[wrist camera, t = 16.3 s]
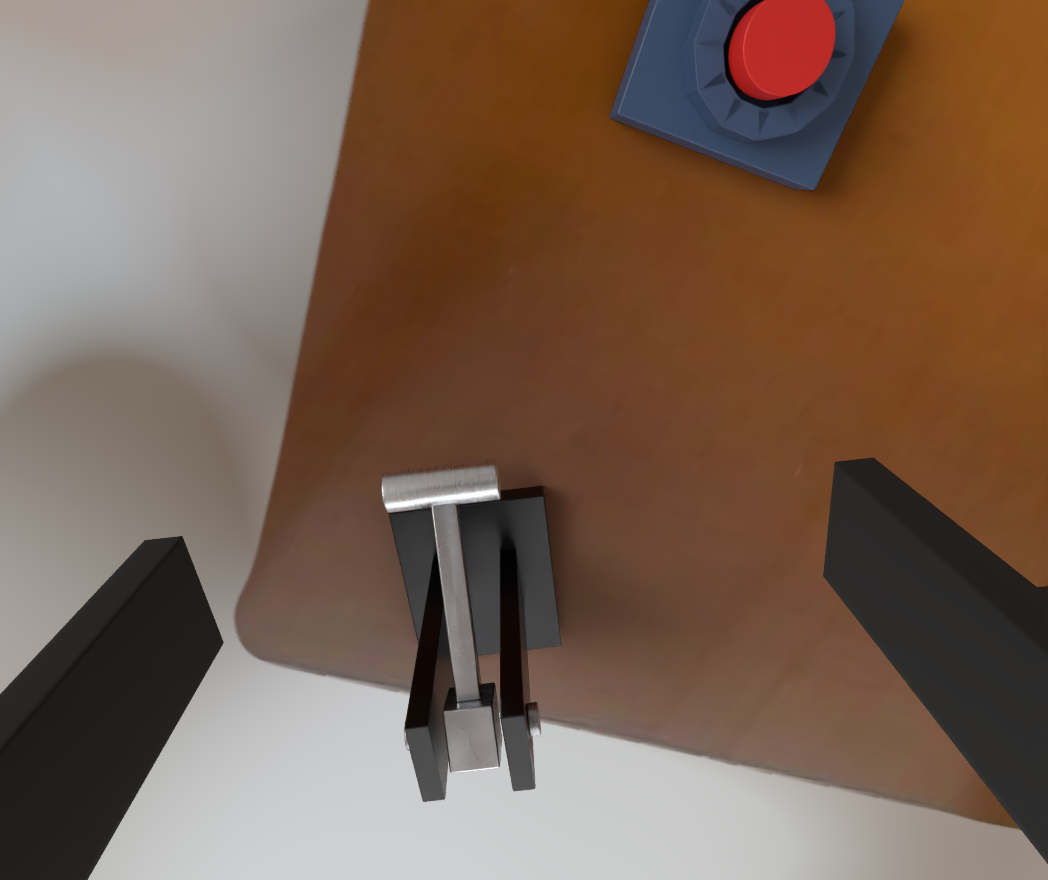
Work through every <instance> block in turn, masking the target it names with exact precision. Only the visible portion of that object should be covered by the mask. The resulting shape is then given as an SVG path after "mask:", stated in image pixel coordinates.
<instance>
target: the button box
mask: <svg viewBox="0 0 1048 880" xmlns="http://www.w3.org/2000/svg"><path fill="white" fill-rule="evenodd" d="M762 1H764V0H649V3H648V6H647V9H646V12H645V15H644V18H643V21H642V23H641V26H640V29H639V32H638V35H637V38H636V41H635V44H634V47H633V50H632V52H631V55H630V58H629V61H628V64H627V67H626V70H625V73H624V76H623V79H622V82H621V84H620V87H619V90H618V93H617V96H616V99H615V102H614V105H613V108H612V111H611V114H610V118H611V119H613V120H616V121H618V122H621V123H624V124H626V125H629V126H631V127H634V128H636V129H639V130H642V131H644V132H647V133H649V134H652V135H655V136H657V137H660V138H662V139H665V140H668V141H670V142H673V143H675V144H678V145H680V146H683V147H686V148H688V149H691V150H693V151H696V152H699V153H701V154H704V155H706V156H709V157H712V158H714V159H717V160H719V161H722V162H725V163H727V164H730V165H732V166H735V167H737V168H740V169H743V170H745V171H748V172H750V173H753V174H756V175H758V176H761V177H763V178H766V179H769V180H771V181H774V182H776V183H779V184H781V185H784V186H787V187H789V188H792V189H798V190H815V188H816V186H817V184H818V182H819V180H820V178H821V176H822V174H823V172H824V169H825V167H826V165H827V163H828V161H829V159H830V157H831V155H832V153H833V150H834V148H835V146H836V144H837V142H838V140H839V138H840V136H841V133H842V131H843V129H844V127H845V125H846V123H847V121H848V119H849V117H850V114H851V112H852V110H853V108H854V106H855V104H856V102H857V100H858V98H859V95H860V93H861V91H862V89H863V87H864V85H865V83H866V81H867V79H868V76H869V74H870V72H871V70H872V68H873V66H874V64H875V62H876V59H877V57H878V55H879V53H880V51H881V49H882V47H883V45H884V43H885V40H886V38H887V36H888V34H889V32H890V30H891V28H892V26H893V24H894V21H895V19H896V17H897V15H898V13H899V11H900V9H901V7H902V5H903V2H904V0H824V1H825V2H826V3H827V5H828V6H829V8H830V10H831V12H832V15H833V18H834V22H835V31H836V35H835V45H834V49H833V53H832V56H831V58H830V61H829V63H828V65H827V67H826V68H825V70H824V71H823V73H822V74H821V75H820V77H819V78H818V79H817V80H816V81H815V82H814V83H813V84H812V85H810V86H809V87H808V88H806V89H805V90H803V91H801V92H799V93H797V94H794V95H790V96H786V97H783V98H779V99H775V100H769V101H763V100H757V99H754V98H751V97H749V96H747V95H746V94H745V93H743V92H742V91H741V90H740V89H739V88H738V86H737V85H736V84H735V82H734V80H733V78H732V75H731V72H730V68H729V62H728V53H729V45H730V41H731V38H732V35H733V32H734V30H735V28H736V26H737V25H738V23H739V21H740V20H741V19H742V17H743V16H744V15H745V14H746V13H747V12H748V11H749V10H750V9H752V8H753V7H754V6H756V5H757V4H759V3H760V2H762Z"/></svg>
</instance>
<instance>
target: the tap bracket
mask: <svg viewBox="0 0 1048 880" xmlns="http://www.w3.org/2000/svg"><path fill="white" fill-rule="evenodd" d="M459 512H460V520H461V528H462V536H463V543H464V551H465V559H466V567H467V575H468V583H469V591H470V598H471V606H472V614H473V622H474V630H475V638H476V646H477V653H478V656H479V655H487V654H496V653H500V719H501V724H502V730H503V736H504V741H505V747H506V753H507V758H508V765H509V771H510V776H511V782H512V788H513V791H522V790H531V789H535V772H534V755H533V741H532V740H533V739H532V737H533V736H540V735H541V727H540V716H539V708H538V703H537V702H532V703H530V689H529V673H528V656H527V650H530V649H539V648H547V647H556V646H561V638H560V630H559V621H558V612H557V604H556V595H555V586H554V577H553V569H552V560H551V551H550V543H549V534H548V525H547V517H546V508H545V499H544V492H543V486H537V487H529V488H520V489H512V490H504V491H501V499H500V500H493V501H484V502H476V503H468V504H459ZM389 517H390V522H391V526H392V530H393V535H394V539H395V543H396V548H397V552H398V557H399V561H400V565H401V570H402V574H403V578H404V583H405V587H406V592H407V596H408V600H409V605H410V609H411V614H412V618H413V622H414V627H415V631H416V635H417V640H418V644H419V645H418V651H417V657H416V663H415V669H414V675H413V681H412V687H411V693H410V698H409V704H408V711H407V716H406V721H405V727H404V737H405V745H406V748H407V750H408V751H410V753H411V757H412V761H413V764H414V769H415V773H416V777H417V780H418V784H419V788H420V792H421V796H422V800H423V802H427V801H436V800H444V799H445V795H446V783H447V771H448V752H447V745H446V737H445V729H444V722H443V714H442V712H443V709H444V705H445V701H446V698H447V694H448V690H449V688H452V687H454V679H453V672H452V664H451V656H450V648H449V641H448V633H447V625H446V618H445V610H444V602H443V595H442V587H441V579H440V571H439V564H438V556H437V548H436V541H435V533H434V525H433V518H432V510H431V508H426V509H417V510H409V511H400V512H392V513H389Z"/></svg>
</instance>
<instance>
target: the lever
mask: <svg viewBox="0 0 1048 880" xmlns="http://www.w3.org/2000/svg"><path fill="white" fill-rule="evenodd" d="M382 497H383V502H384V506H385V508H386V510H387V512H389V513H392V512H400V511H409V510H417V509H426V508H431V510H432V518H433V525H434V533H435V541H436V548H437V556H438V564H439V571H440V579H441V587H442V595H443V602H444V610H445V618H446V625H447V633H448V641H449V648H450V656H451V664H452V672H453V679H454V687H452V688H449V690H448V694H447V698H446V701H445V705H444V709H443V712H442V714H443V722H444V729H445V737H446V745H447V752H448V760H449V767H450V772H451V773H457V772H466V771H474V770H483V769H491V768H499V767H500V758H501V745H502V734H501V727H500V719H499V711H498V703H497V695H496V687H495V683H486V684H481V677H480V669H479V661H478V653H477V646H476V638H475V630H474V622H473V614H472V606H471V598H470V591H469V583H468V575H467V567H466V559H465V551H464V543H463V536H462V528H461V520H460V512H459V504H468V503H476V502H484V501H493V500H500V499H501V487H500V478H499V470H498V464H497V461H496V459H492V460H483V461H475V462H467V463H458V464H450V465H442V466H433V467H425V468H417V469H408V470H400V471H392V472H385V473H384V474H383V476H382Z"/></svg>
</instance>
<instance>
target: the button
mask: <svg viewBox="0 0 1048 880" xmlns="http://www.w3.org/2000/svg"><path fill="white" fill-rule="evenodd" d="M835 35H836V31H835V22H834V18H833V15H832V12H831V10H830V8H829V6H828V5H827V3H826V2H825V1H824V0H764V1H762V2H760V3H759V4H757V5H756V6H754V7H753V8H752V9H750V10H749V11H748V12H747V13H746V14H745V15H744V16H743V17H742V19H741V20H740V21H739V23H738V25H737V26H736V28H735V30H734V32H733V35H732V38H731V41H730V45H729V53H728V62H729V68H730V72H731V75H732V78H733V80H734V82H735V84H736V85H737V86H738V88H739V89H740V90H741V91H742V92H743V93H745V94H746V95H747V96H749V97H751V98H754V99H757V100H763V101H769V100H775V99H779V98H783V97H786V96H790V95H794V94H797V93H799V92H801V91H803V90H805V89H806V88H808V87H809V86H810V85H812V84H813V83H814V82H815V81H816V80H817V79H818V78H819V77H820V75H821V74H822V73H823V71H824V70H825V68H826V67H827V65H828V63H829V61H830V58H831V56H832V53H833V49H834V45H835Z"/></svg>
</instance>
